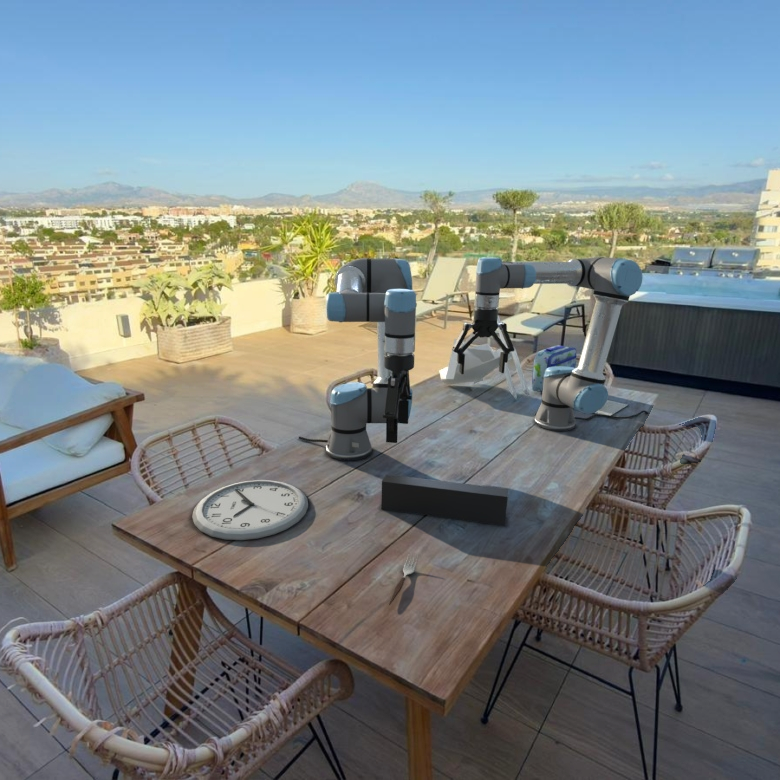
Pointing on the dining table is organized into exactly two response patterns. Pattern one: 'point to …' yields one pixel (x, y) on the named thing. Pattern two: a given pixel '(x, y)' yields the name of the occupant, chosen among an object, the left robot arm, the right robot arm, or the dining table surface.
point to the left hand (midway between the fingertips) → (397, 432)
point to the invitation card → (611, 408)
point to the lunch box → (551, 363)
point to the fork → (407, 571)
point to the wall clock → (250, 510)
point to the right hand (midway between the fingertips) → (481, 372)
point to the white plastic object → (482, 365)
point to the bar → (444, 499)
